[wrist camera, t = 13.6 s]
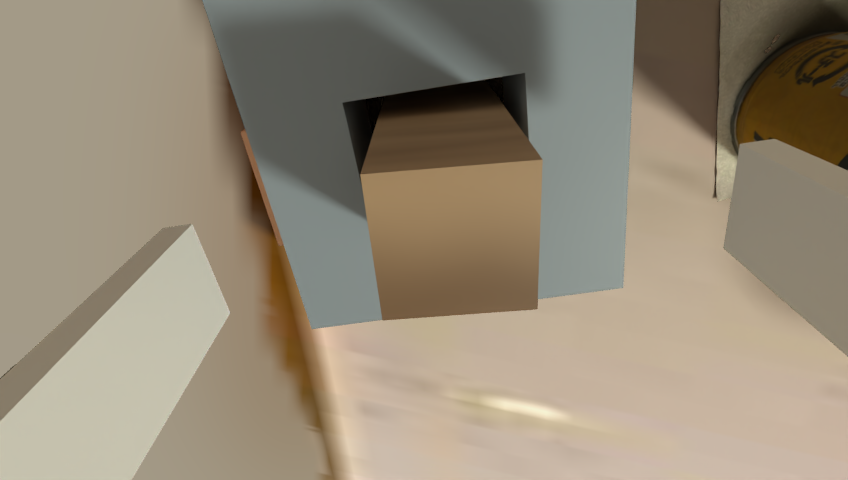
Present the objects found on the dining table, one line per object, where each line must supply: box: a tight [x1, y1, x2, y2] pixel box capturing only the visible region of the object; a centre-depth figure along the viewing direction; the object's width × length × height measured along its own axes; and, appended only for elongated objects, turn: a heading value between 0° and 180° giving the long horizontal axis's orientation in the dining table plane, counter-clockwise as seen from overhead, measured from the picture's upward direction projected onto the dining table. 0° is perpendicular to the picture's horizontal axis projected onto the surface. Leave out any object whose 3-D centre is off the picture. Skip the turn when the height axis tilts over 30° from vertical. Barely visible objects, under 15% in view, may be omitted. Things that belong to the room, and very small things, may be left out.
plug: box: [360, 80, 543, 320], centre depth 16 cm, size 4×4×10 cm
